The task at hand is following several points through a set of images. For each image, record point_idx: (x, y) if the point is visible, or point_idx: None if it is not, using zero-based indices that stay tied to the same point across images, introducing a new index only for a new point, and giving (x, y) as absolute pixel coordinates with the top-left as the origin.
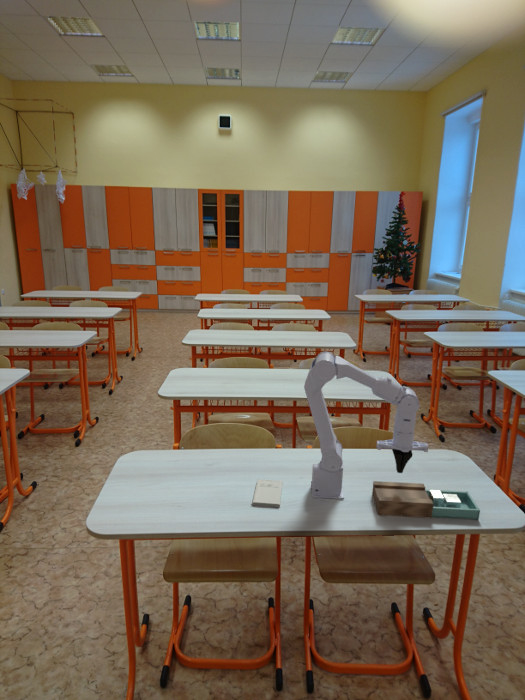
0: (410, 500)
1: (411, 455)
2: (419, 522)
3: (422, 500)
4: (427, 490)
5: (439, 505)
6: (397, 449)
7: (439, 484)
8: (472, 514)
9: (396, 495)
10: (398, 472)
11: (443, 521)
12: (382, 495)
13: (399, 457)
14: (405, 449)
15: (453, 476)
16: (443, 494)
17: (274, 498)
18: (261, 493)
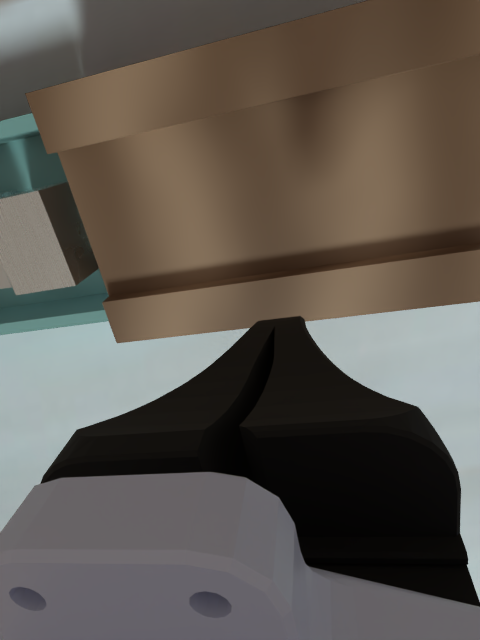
0: (198, 80)
1: (59, 454)
2: (155, 11)
3: (106, 114)
4: (103, 312)
5: (32, 189)
6: (432, 598)
7: (77, 421)
8: None
9: (309, 159)
10: (296, 316)
11: (20, 81)
12: (433, 122)
13: (314, 405)
14: (112, 597)
15: (29, 482)
16: (5, 278)
17: None
18: None
